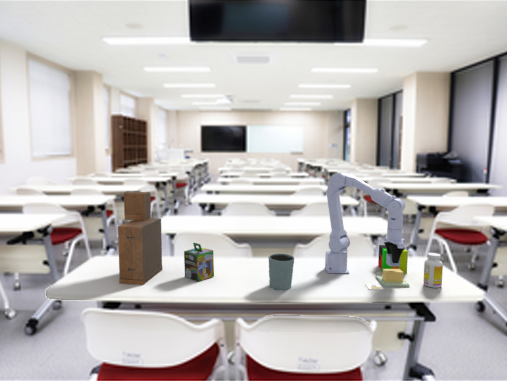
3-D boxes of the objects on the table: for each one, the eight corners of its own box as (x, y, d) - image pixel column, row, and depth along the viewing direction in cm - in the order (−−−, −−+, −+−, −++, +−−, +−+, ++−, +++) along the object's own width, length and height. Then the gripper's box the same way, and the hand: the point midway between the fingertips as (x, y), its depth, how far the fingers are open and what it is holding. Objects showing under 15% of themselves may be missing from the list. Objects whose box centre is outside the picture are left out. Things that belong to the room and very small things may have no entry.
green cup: (268, 281, 153) (268, 253, 151) (292, 282, 152) (293, 253, 151) (268, 291, 143) (268, 260, 141) (294, 291, 142) (295, 261, 141)
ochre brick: (385, 281, 151) (386, 272, 150) (382, 278, 155) (382, 268, 154) (402, 281, 151) (403, 272, 150) (399, 278, 155) (399, 269, 154)
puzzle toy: (400, 266, 174) (401, 245, 173) (406, 273, 164) (407, 251, 163) (378, 265, 175) (379, 244, 174) (383, 272, 165) (384, 250, 164)
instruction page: (369, 289, 145) (369, 289, 145) (365, 285, 150) (365, 284, 150) (384, 289, 144) (384, 289, 144) (380, 285, 149) (380, 284, 149)
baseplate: (384, 286, 148) (384, 284, 148) (376, 278, 158) (376, 275, 158) (409, 286, 148) (409, 284, 148) (399, 278, 158) (399, 276, 158)
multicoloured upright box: (214, 277, 158) (214, 242, 156) (197, 282, 151) (197, 246, 150) (200, 272, 164) (200, 239, 163) (183, 277, 158) (183, 242, 156)
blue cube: (389, 266, 150) (389, 256, 150) (386, 263, 154) (386, 253, 154) (399, 266, 150) (399, 256, 150) (395, 263, 154) (396, 253, 154)
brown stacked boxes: (132, 268, 169) (130, 191, 165) (162, 269, 167) (160, 192, 163) (110, 282, 150) (107, 196, 146) (143, 285, 148) (140, 197, 144)
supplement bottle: (443, 285, 150) (445, 254, 149) (439, 289, 145) (441, 257, 144) (425, 281, 154) (427, 251, 153) (421, 285, 149) (422, 254, 148)
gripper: (412, 232, 143) (410, 266, 145) (398, 224, 158) (396, 256, 159) (393, 232, 143) (392, 266, 145) (381, 224, 158) (379, 256, 159)
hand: (393, 261), depth 152 cm, fingers closed on blue cube, 4 cm apart
